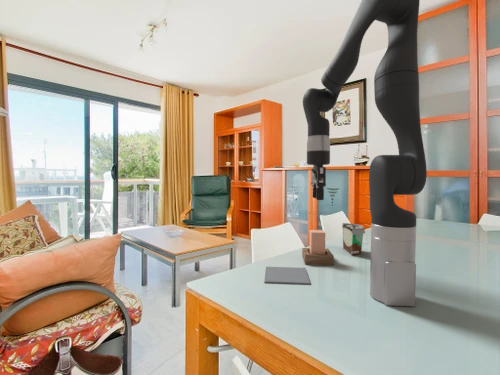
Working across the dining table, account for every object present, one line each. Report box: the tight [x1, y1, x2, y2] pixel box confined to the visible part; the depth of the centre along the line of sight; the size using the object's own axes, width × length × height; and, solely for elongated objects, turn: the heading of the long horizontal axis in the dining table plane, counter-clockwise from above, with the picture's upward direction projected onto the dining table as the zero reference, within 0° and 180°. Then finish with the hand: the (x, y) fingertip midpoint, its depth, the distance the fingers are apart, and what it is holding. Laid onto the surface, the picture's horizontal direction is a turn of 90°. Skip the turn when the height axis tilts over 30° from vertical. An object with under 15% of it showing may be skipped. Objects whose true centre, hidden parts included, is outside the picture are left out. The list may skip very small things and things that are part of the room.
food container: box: [341, 222, 366, 257], centre depth 102 cm, size 12×6×10 cm, turn 179°
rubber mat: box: [264, 266, 311, 285], centre depth 77 cm, size 12×12×1 cm
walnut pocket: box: [301, 247, 335, 266], centre depth 91 cm, size 9×9×3 cm
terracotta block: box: [309, 229, 326, 254], centre depth 91 cm, size 4×4×10 cm
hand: (317, 198), depth 91 cm, fingers open, 8 cm apart
